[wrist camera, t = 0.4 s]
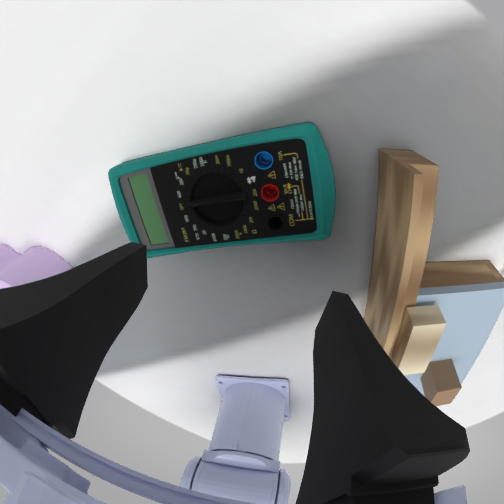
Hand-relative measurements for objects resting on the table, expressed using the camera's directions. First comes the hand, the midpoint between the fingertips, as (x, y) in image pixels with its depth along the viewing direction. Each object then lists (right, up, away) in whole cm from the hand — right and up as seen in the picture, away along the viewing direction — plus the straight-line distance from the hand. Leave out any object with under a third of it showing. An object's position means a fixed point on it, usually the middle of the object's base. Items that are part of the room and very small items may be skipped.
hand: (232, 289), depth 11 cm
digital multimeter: (-1, +6, +9) cm, 11 cm away
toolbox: (+15, -1, +10) cm, 18 cm away
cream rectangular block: (+12, -4, +7) cm, 14 cm away
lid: (+17, -7, +9) cm, 20 cm away
